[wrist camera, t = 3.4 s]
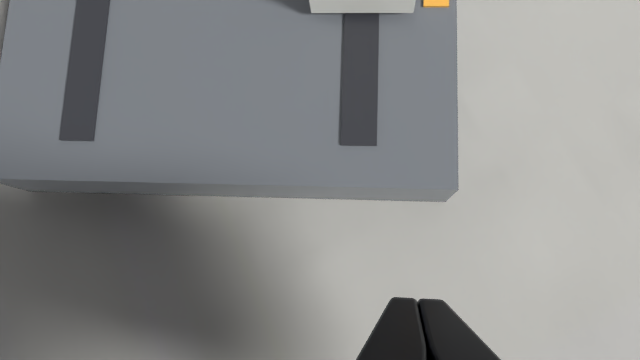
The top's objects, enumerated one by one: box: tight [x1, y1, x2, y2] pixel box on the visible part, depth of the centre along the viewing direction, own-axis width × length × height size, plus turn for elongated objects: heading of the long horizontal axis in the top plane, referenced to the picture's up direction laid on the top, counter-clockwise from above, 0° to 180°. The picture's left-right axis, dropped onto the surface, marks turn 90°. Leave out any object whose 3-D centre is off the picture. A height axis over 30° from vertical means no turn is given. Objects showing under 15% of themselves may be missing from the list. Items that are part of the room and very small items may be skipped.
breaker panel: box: [0, 0, 458, 202], centre depth 19 cm, size 13×15×3 cm
